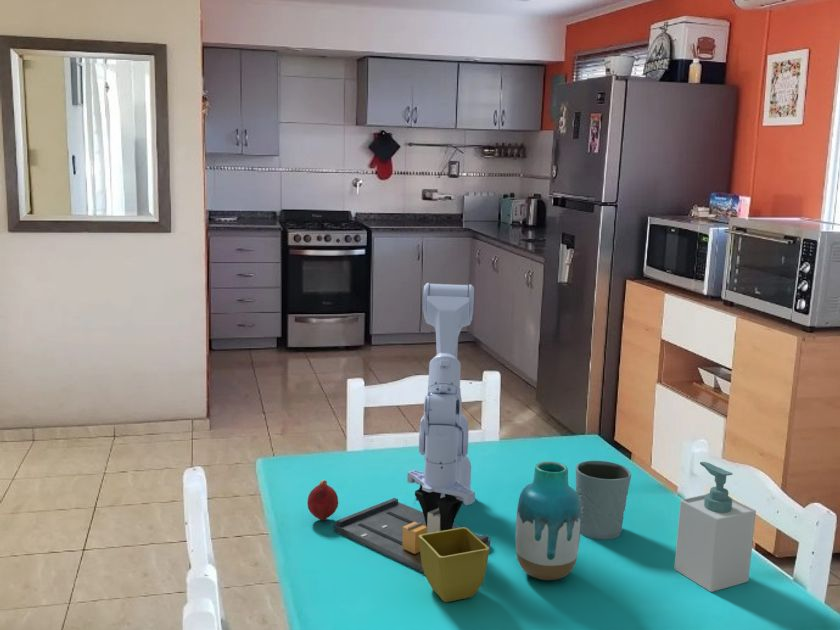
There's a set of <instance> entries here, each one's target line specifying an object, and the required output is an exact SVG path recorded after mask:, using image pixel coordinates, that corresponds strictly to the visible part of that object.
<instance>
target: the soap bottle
mask: <svg viewBox="0 0 840 630" xmlns="http://www.w3.org/2000/svg"><path fill="white" fill-rule="evenodd" d="M699 464H700V465H701V466H702V467H703V468H705V470H706V471H707V472H708V473H709V474H710V475H711V476H712V477H713V476H714V482H715V486H712V487H711V488H710V490H709V492H708V493H706V494H703V495H698V496H692V497H688V498H683V499H680V502H679V503H680V504H679V516H678V523H677V524H678V526H677V537H676V547H675V548H676V549H675V557H674V558H675V560H674V567H673V568H674V571H676V572H678V573H680V574H682V576H684V577H686V578H687V579H689V580H690V581H692V582H694V583H695V584H696V585H697V584H698V585H699V586H700V587H702V588H703V589H705V590H707V591H709V592H710V593H713V592H717V591H720V590H723V589H726V588H730V587H734V586H737V585H741V584H744V583H748V582H749V578H750V569H751V560H752V550H753V543H754V535H755V534H754V533H755V524H756V515H757V514H756V513H757V510H755V509H753V508H751V507H750V506H747V505H745V504H743V503H741V502H739V501H737V500H735V499H733V498H731V496H730V495H729V493H730V492H729V490H728V489H727V488H725V487H724V485H725V484H726V483H727V476H732V475H733V472H731V471H727V470H726V469H723V468H721V467H718V466H716V465H715V464H712V463H711V462H706V461H700V462H699Z"/></svg>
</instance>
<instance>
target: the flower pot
mask: <svg viewBox="0 0 840 630" xmlns="http://www.w3.org/2000/svg"><path fill="white" fill-rule="evenodd" d="M473 533H474V532H472V531H471V530H470V529H469V528H467V527H466V526H463V527H460V528H456V529H450V530H445V531H439V532H433V533H427V534H421V535H419V544H420V553H421V562H422V567H423V570H424V573H425V574H424V573H423V574H424V575H425V578H426V579H427V583H428V584H429V585H430V587H431V589H432V590H433V592H434V593H436V594H437V596H438V597H439V598H440V599H441V600H442V601H443V602H444V603H450V602H454V601H458V600H463V599H469V598H472V597H474V595H475V594H477V592H478V591H479V590H480V588H481V586H482V584H483V582H484V580H485V576H486V571H487V566H488V562H489V561H488V560H489V554H490V547H488V546H487V545H486V544H484V543H483V542H482V541H481V540H480V539H478V538H477V537H476V536H475V535H474V534H473Z"/></svg>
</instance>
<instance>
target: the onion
mask: <svg viewBox="0 0 840 630" xmlns="http://www.w3.org/2000/svg"><path fill="white" fill-rule="evenodd" d="M338 507H339V497H338V494H337V492H336V490H335V489H334V488H333V487H331V486H330V485H329V484H328V481H327V480H326V479H322V480H321V481H320V482H319V484H318V485H316V486H315V487H314V488H312V490H310V493H309V494H308V497H307V509H308V511H309V512H310V513H311V515H312V516H314V517H315V518H316V519H318V520H320V521H326V520H327V519H328V518H330V517H331V516H333V514H335V512H336V510H337V509H338Z"/></svg>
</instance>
